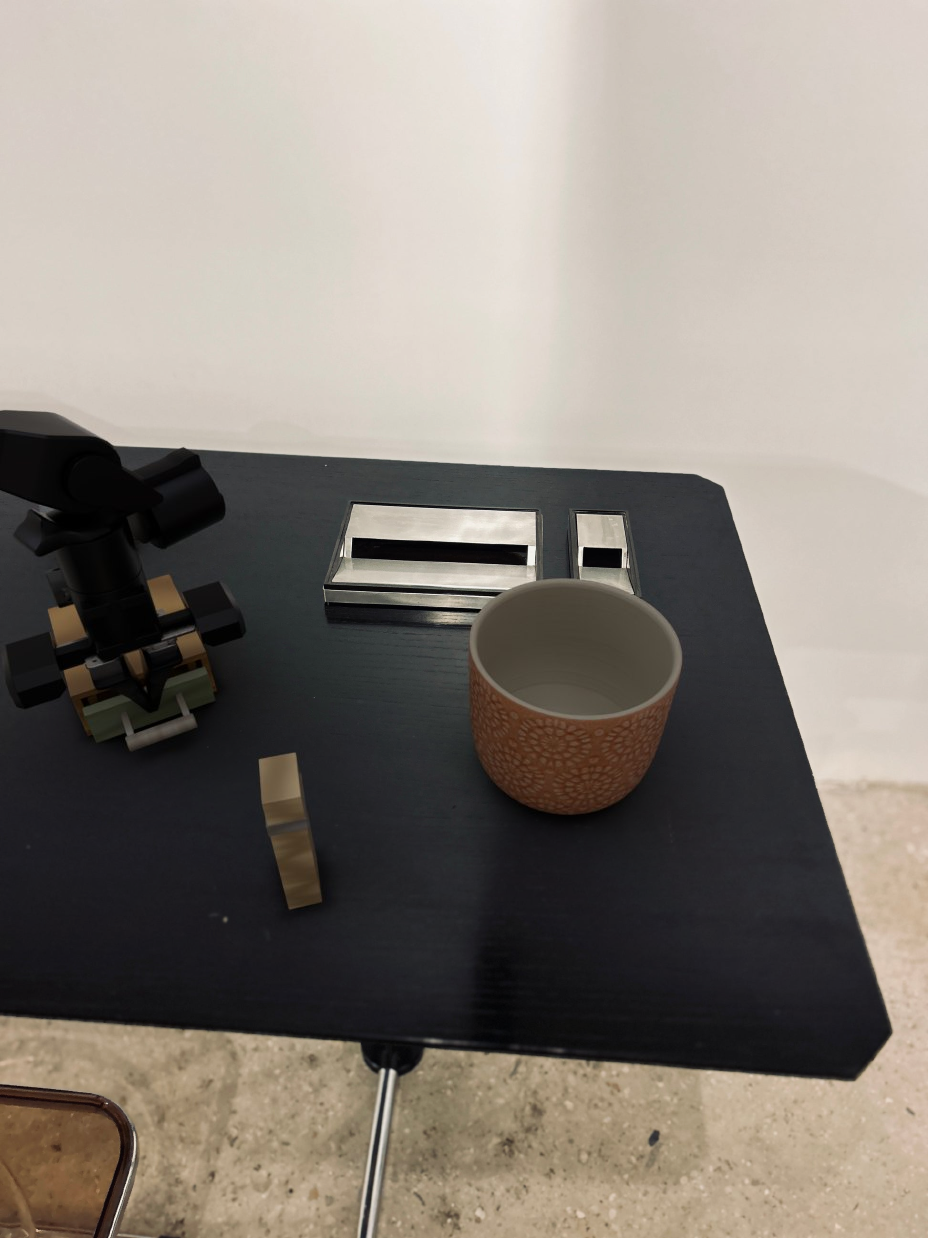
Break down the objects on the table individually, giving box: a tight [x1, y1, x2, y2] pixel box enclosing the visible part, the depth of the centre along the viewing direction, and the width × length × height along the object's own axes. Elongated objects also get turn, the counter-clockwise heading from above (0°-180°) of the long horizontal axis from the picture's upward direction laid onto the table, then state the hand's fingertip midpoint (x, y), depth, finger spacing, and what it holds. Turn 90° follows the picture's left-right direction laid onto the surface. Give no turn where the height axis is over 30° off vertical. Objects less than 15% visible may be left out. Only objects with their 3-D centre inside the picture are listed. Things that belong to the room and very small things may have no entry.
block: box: [258, 752, 323, 910], centre depth 58 cm, size 3×4×14 cm, turn 14°
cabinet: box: [47, 574, 218, 737], centre depth 80 cm, size 14×12×5 cm
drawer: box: [82, 661, 216, 753], centre depth 76 cm, size 18×11×4 cm, turn 30°
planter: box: [468, 577, 683, 816], centre depth 67 cm, size 17×17×15 cm
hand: (152, 709), depth 72 cm, fingers closed
